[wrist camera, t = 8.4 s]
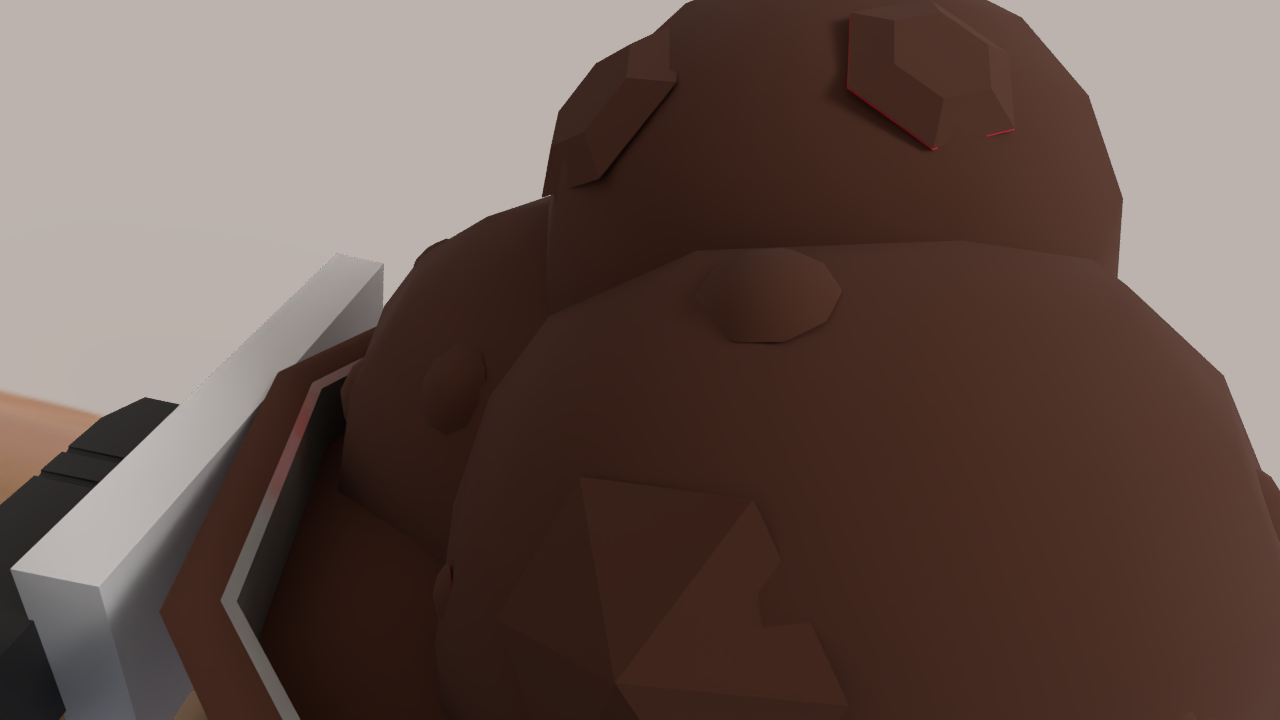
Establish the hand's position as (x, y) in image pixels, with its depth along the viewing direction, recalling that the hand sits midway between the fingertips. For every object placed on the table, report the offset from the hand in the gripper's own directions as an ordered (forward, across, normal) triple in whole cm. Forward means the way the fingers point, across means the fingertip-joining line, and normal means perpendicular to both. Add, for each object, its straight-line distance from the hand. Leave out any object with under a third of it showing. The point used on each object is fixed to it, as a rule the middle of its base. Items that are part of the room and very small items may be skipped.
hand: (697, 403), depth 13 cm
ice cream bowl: (-4, 0, -8) cm, 9 cm away
